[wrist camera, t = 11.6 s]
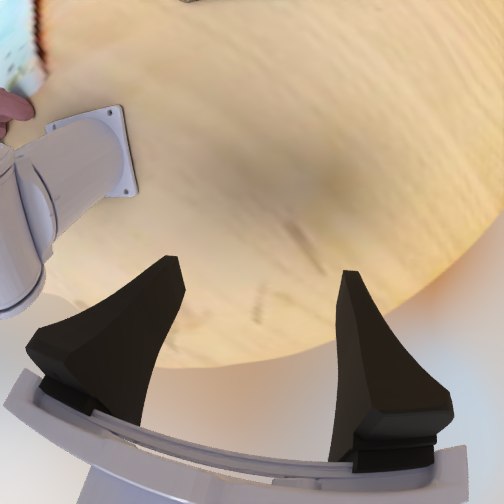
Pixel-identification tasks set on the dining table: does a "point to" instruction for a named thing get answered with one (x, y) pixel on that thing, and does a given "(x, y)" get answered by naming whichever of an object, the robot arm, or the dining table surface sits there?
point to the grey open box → (188, 1)
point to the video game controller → (13, 109)
